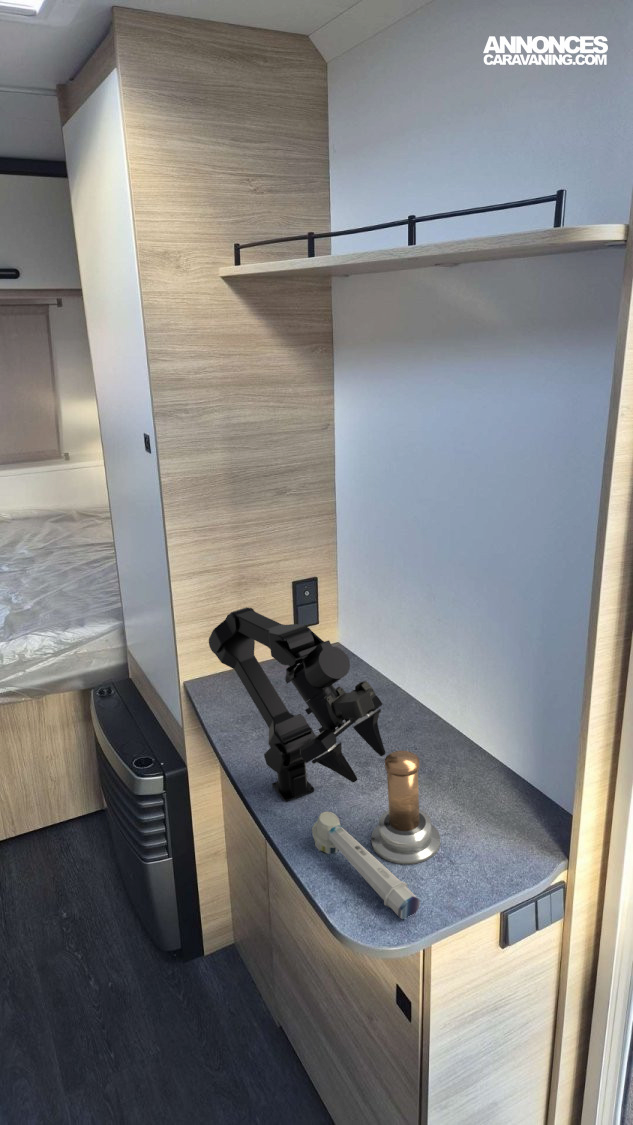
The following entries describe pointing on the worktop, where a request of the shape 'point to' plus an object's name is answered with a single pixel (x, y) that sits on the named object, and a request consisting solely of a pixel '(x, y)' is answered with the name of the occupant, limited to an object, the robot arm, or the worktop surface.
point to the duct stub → (405, 841)
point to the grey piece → (364, 864)
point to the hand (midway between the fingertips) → (369, 767)
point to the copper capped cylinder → (403, 790)
